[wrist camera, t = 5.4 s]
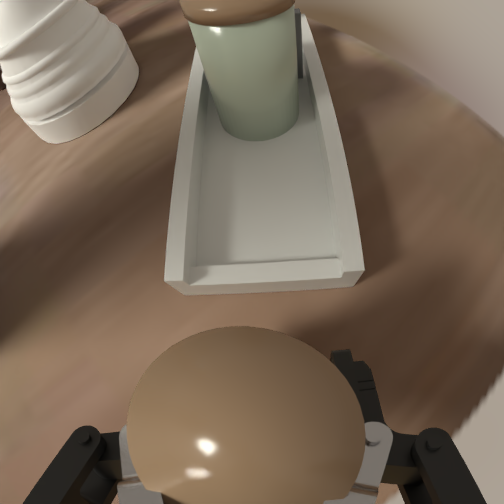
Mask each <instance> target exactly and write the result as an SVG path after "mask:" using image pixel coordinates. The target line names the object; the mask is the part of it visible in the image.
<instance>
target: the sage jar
mask: <svg viewBox="0 0 504 504" xmlns="http://www.w3.org/2000/svg"><path fill="white" fill-rule="evenodd" d="M179 1H180V4H181V7H182V10H183V13H184V16H185V18H186V19H187V20H188V22H189V25H190V28H191V31H192V35H193V38H194V41H195V44H196V47H197V50H198V53H199V56H200V59H201V62H202V66H203V69H204V72H205V75H206V78H207V81H208V84H209V88H210V91H211V94H212V97H213V100H214V103H215V106H216V110H217V113H218V116H219V119H220V122H221V125H222V127H223V128H224V130H225V131H226V132H227V133H228V134H230V135H231V136H233V137H235V138H238V139H241V140H245V141H265V140H270V139H273V138H276V137H279V136H281V135H283V134H284V133H286V132H287V131H289V130H290V129H291V128H292V127H293V126H294V124H295V123H296V121H297V119H298V116H299V93H298V67H297V46H296V28H295V12H294V3H295V0H179Z"/></svg>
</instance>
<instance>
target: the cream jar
mask: <svg viewBox="0 0 504 504" xmlns="http://www.w3.org/2000/svg"><path fill="white" fill-rule="evenodd" d="M126 427H127V443H128V449H129V453H130V457H131V460H132V463H133V466H134V468H135V471H136V473H137V475H138V477H139V479H140V480H141V482H142V484H143V485H144V487H145V489H146V490H150V491H155V492H160V493H161V494H162V497H163V499H164V501H165V503H166V504H323V503H324V501H327V500H337V499H344V498H345V497H346V495H347V494H348V493H349V491H350V490H351V488H352V486H353V484H354V483H355V481H356V479H357V477H358V474H359V471H360V468H361V466H362V462H363V457H364V452H365V438H366V434H365V425H364V418H363V415H362V411H361V407H360V404H359V402H358V400H357V397H356V395H355V393H354V391H353V389H352V388H351V386H350V384H349V383H348V381H347V379H346V378H345V377H344V376H343V374H342V373H341V372H340V371H339V370H338V368H337V367H336V366H335V365H334V364H333V363H332V362H331V361H329V360H328V359H327V358H326V357H325V356H324V355H323V354H321V353H320V352H318V351H317V350H316V349H314V348H313V347H311V346H310V345H308V344H306V343H304V342H302V341H300V340H298V339H296V338H294V337H291V336H289V335H286V334H283V333H281V332H277V331H273V330H269V329H265V328H256V327H248V326H241V327H233V326H232V327H224V328H216V329H212V330H208V331H204V332H200V333H198V334H195V335H193V336H190V337H188V338H186V339H184V340H182V341H180V342H178V343H176V344H175V345H173V346H172V347H170V348H169V349H168V350H166V351H165V352H163V353H162V354H161V355H160V356H159V357H158V358H157V359H156V360H155V361H154V362H153V363H152V364H151V365H150V366H149V368H148V369H147V370H146V371H145V373H144V374H143V376H142V377H141V379H140V381H139V382H138V384H137V386H136V388H135V391H134V393H133V396H132V398H131V401H130V405H129V409H128V415H127V425H126Z"/></svg>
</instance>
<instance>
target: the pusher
mask: <svg viewBox="0 0 504 504" xmlns="http://www.w3.org/2000/svg"><path fill="white" fill-rule="evenodd" d="M294 12H295V28H296V46H297V67H298V79H300V78H303V54H302V28H301V13H300V9H294Z"/></svg>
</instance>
